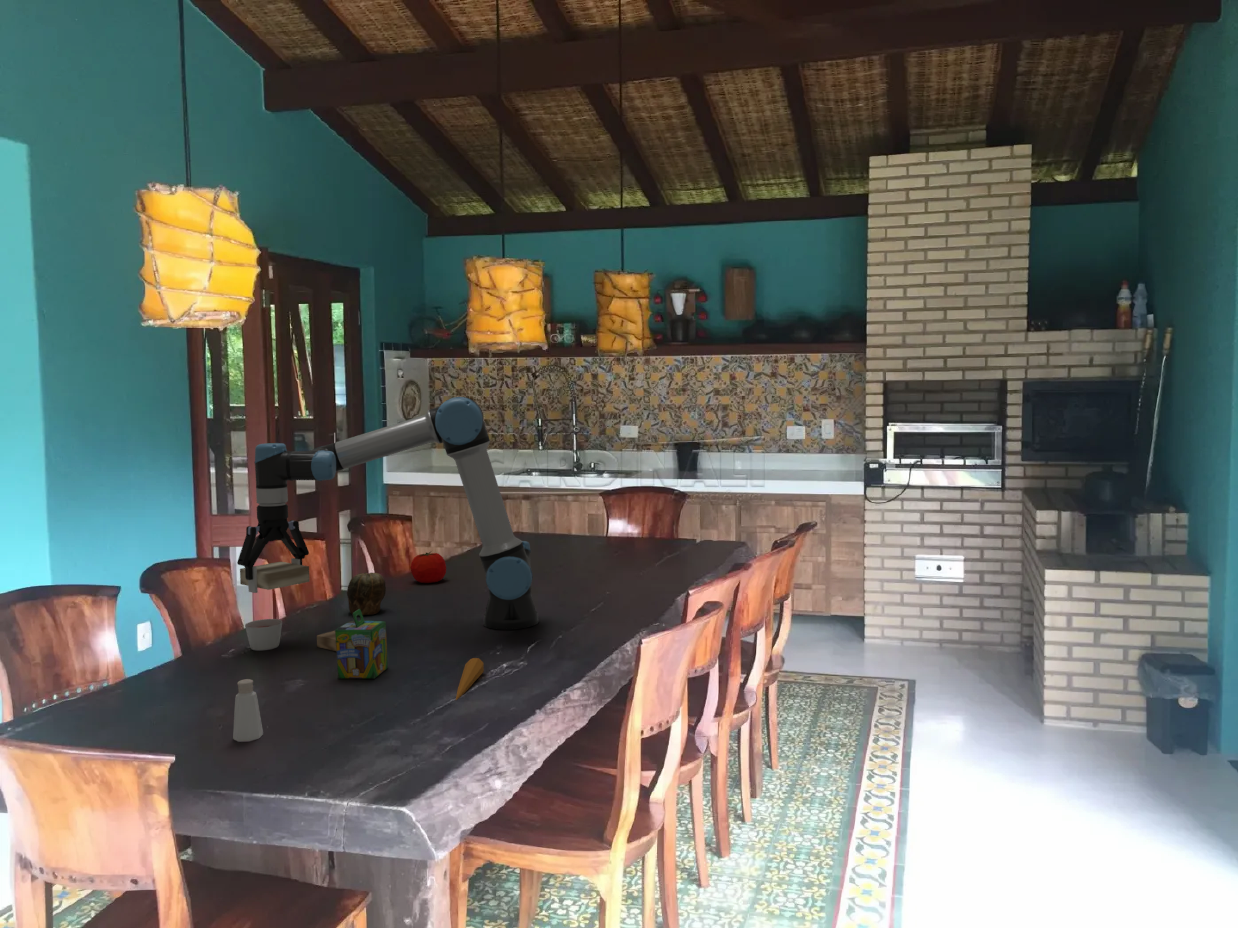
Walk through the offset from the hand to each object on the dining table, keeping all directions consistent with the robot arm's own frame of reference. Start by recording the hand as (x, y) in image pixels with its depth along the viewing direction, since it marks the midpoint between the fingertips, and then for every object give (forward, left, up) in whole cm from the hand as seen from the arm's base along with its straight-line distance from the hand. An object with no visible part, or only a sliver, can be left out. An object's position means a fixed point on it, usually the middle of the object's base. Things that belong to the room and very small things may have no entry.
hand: (275, 587), depth 248 cm
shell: (+10, -37, -16) cm, 41 cm away
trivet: (-13, -10, -15) cm, 23 cm away
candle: (+3, +2, -16) cm, 16 cm away
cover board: (0, 0, +1) cm, 1 cm away
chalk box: (-37, +3, -16) cm, 41 cm away
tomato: (+27, -77, -16) cm, 83 cm away
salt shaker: (-51, +42, -16) cm, 68 cm away
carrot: (-64, -3, -16) cm, 66 cm away
